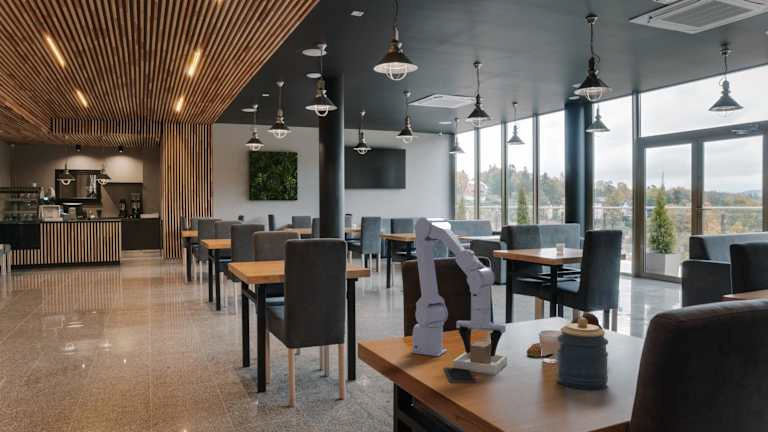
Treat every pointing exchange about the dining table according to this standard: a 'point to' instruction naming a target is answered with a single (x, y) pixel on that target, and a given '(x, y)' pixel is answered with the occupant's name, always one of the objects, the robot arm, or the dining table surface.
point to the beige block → (480, 352)
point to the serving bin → (492, 368)
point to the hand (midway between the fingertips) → (480, 354)
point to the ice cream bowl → (589, 320)
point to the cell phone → (459, 375)
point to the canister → (582, 356)
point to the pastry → (534, 350)
